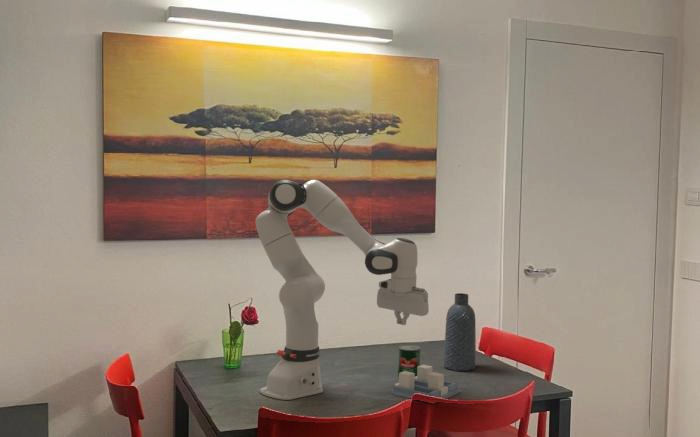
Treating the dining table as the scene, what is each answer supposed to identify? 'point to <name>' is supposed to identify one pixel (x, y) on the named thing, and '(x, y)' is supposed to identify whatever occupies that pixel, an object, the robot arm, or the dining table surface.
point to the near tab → (407, 380)
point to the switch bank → (427, 389)
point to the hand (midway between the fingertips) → (401, 324)
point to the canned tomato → (408, 358)
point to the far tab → (424, 372)
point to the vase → (460, 336)
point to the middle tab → (435, 380)
